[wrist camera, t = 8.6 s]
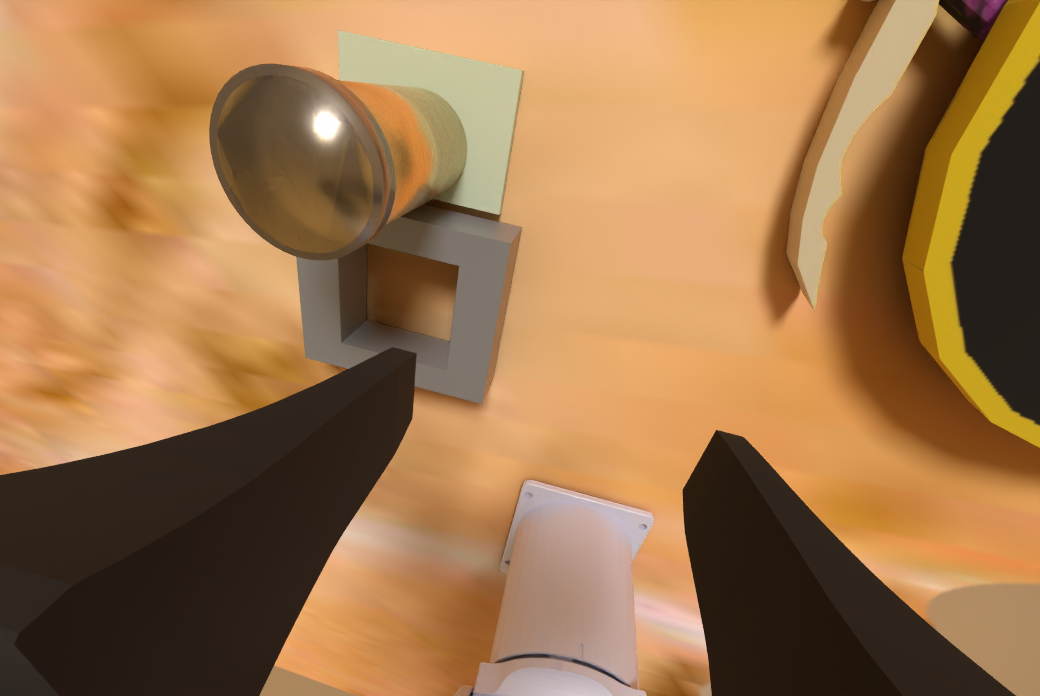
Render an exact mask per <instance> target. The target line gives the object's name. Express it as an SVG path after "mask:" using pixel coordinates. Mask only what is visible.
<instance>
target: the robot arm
mask: <svg viewBox="0 0 1040 696" xmlns="http://www.w3.org/2000/svg"><path fill="white" fill-rule="evenodd" d="M416 357H417V353H414V352H410V351H406V350H402V349H398V348H394V347H392V348H390V349H387V350H385V351H383V352H381V353H379V354H377V355H375V356H373V357H371V358H369V359H367V360H365V361H363V362H361V363H359V364H357V365H355V366H353V367H351V368H349V369H347V370H345V371H343V372H341V373H339V374H337V375H335V376H333V377H331V378H329V379H327V380H325V381H323V382H321V383H319V384H316V385H314V386H312V387H309V388H307V389H305V390H303V391H300V392H298V393H296V394H293V395H291V396H289V397H287V398H284V399H282V400H280V401H277V402H275V403H273V404H270V405H268V406H265V407H263V408H260V409H257V410H255V411H252V412H249V413H247V414H244V415H241V416H238V417H235V418H232V419H229V420H226V421H224V422H221V423H218V424H215V425H211V426H208V427H205V428H202V429H198V430H195V431H191V432H188V433H184V434H181V435H177V436H174V437H170V438H167V439H163V440H160V441H156V442H153V443H149V444H146V445H142V446H138V447H134V448H130V449H125V450H121V451H117V452H113V453H109V454H105V455H100V456H96V457H91V458H87V459H82V460H77V461H73V462H68V463H64V464H59V465H54V466H49V467H44V468H39V469H33V470H27V471H22V472H16V473H10V474H5V475H0V696H259V695H260V693H261V691H262V689H263V687H264V684H265V683H266V681H267V678H268V677H269V674H270V672H271V670H272V668H273V666H274V664H275V662H276V660H277V658H278V656H279V654H280V652H281V650H282V648H283V646H284V643H285V641H286V639H287V637H288V635H289V633H290V632H291V630H292V628H293V626H294V624H295V622H296V620H297V618H298V616H299V614H300V612H301V610H302V608H303V606H304V604H305V602H306V600H307V598H308V596H309V594H310V592H311V590H312V588H313V587H314V585H315V583H316V581H317V579H318V577H319V575H320V573H321V571H322V570H323V568H324V566H325V564H326V562H327V560H328V558H329V556H330V554H331V553H332V551H333V549H334V547H335V546H336V544H337V542H338V541H339V539H340V537H341V536H342V534H343V532H344V531H345V529H346V528H347V526H348V525H349V523H350V522H351V520H352V519H353V517H354V516H355V514H356V513H357V511H358V510H359V508H360V507H361V505H362V504H363V502H364V501H365V499H366V497H367V496H368V494H369V493H370V491H371V490H372V488H373V487H374V485H375V484H376V482H377V481H378V479H379V478H380V476H381V475H382V473H383V472H384V470H385V469H386V467H387V465H388V464H389V462H390V461H391V459H392V458H393V456H394V455H395V453H396V451H397V449H398V447H399V445H400V443H401V441H402V439H403V437H404V435H405V433H406V431H407V428H408V426H409V424H410V422H411V420H412V416H413V401H414V386H415V371H416ZM529 493H531V494H529ZM683 512H684V526H685V535H686V541H687V546H688V552H689V557H690V562H691V568H692V573H693V578H694V583H695V588H696V593H697V598H698V603H699V608H700V613H701V618H702V624H703V629H704V634H705V640H706V647H707V653H708V660H709V670H710V680H711V690H712V696H1016V695H1014V694H1013V693H1012V692H1010V691H1009V690H1008V689H1007V688H1005V687H1004V686H1003V685H1002V684H1000V683H999V682H998V681H996V679H994V678H993V677H992V676H991V675H989V674H988V673H987V672H986V671H984V670H983V669H982V668H981V667H980V666H978V665H977V664H976V663H975V662H973V661H972V660H971V659H970V658H969V657H967V656H966V655H965V654H964V653H962V652H961V651H960V650H959V649H958V648H956V647H955V646H954V645H953V644H951V643H950V642H949V641H948V640H947V639H946V638H944V637H943V636H942V635H941V634H940V633H939V632H937V631H936V630H935V629H934V628H933V627H932V626H930V625H929V624H928V623H927V622H926V621H925V620H924V619H922V618H921V617H920V616H919V615H918V614H917V613H916V612H915V611H914V610H912V609H911V608H910V607H909V606H908V605H907V604H906V603H905V602H904V601H902V600H901V599H900V598H899V597H898V596H897V595H896V594H895V593H894V592H892V591H891V590H890V589H889V588H888V587H887V586H886V585H885V584H884V583H883V582H882V581H881V580H879V579H878V578H877V577H876V576H875V575H874V574H873V573H872V572H871V571H870V570H869V569H868V568H867V567H866V566H865V565H864V564H863V563H862V562H861V561H860V560H859V559H858V558H857V557H856V556H855V555H854V554H853V553H852V552H851V551H850V550H849V549H848V548H847V547H846V546H845V545H844V544H843V543H842V542H841V541H840V540H839V539H838V538H837V537H836V536H835V535H834V534H833V533H832V532H831V531H830V530H829V529H828V528H827V527H826V526H825V525H824V523H823V522H822V521H821V520H820V519H819V518H818V517H817V516H816V515H815V514H814V513H813V512H812V511H811V510H810V509H809V507H808V506H807V505H806V504H805V503H804V502H803V501H802V500H801V499H800V498H799V497H798V495H797V494H796V493H795V492H794V491H793V490H792V489H791V488H790V487H789V485H788V484H787V483H786V482H785V481H784V480H783V479H782V478H781V477H780V475H779V474H778V473H777V472H776V471H775V470H774V469H773V468H772V467H771V465H770V464H769V463H768V462H767V461H766V460H765V459H764V458H763V457H762V456H761V455H760V453H759V452H758V451H757V450H756V449H755V448H754V447H753V446H752V445H751V444H750V443H749V442H748V441H747V440H746V439H745V438H744V437H742V436H738V435H734V434H730V433H726V432H722V431H718V430H716V432H715V433H714V435H713V437H712V439H711V441H710V442H709V444H708V446H707V448H706V449H705V451H704V453H703V455H702V457H701V458H700V460H699V462H698V464H697V465H696V467H695V469H694V471H693V473H692V474H691V476H690V478H689V480H688V481H687V483H686V485H685V487H684V489H683ZM653 524H654V517H653V514H652V513H650V512H648V511H644V510H641V509H637V508H633V507H630V506H626V505H622V504H619V503H615V502H611V501H608V500H604V499H600V498H597V497H593V496H589V495H586V494H582V493H578V492H575V491H571V490H567V489H564V488H560V487H556V486H553V485H549V484H545V483H542V482H538V481H534V480H526V481H524V483H523V485H522V489H521V492H520V496H519V499H518V503H517V507H516V510H515V514H514V517H513V521H512V524H511V528H510V532H509V535H508V539H507V542H506V546H505V550H504V553H503V557H502V560H501V564H500V568H499V569H500V572H501V573H503V574H505V575H508V576H507V580H506V585H505V590H504V595H503V599H502V604H501V609H500V614H499V618H498V623H497V628H496V633H495V637H494V642H493V647H492V652H491V656H490V661H489V663H486V662H481V663H480V665H479V670H478V674H477V678H476V683H475V687H474V686H470V685H463V686H461V687H460V688H459V689H458V690H457V692H456V693H455V694H454V695H453V696H646V692H645V691H643V690H639V681H638V662H637V644H636V626H635V608H634V590H633V572H632V562H633V560H634V558H635V556H636V554H637V553H638V551H639V549H640V547H641V545H642V543H643V542H644V540H645V538H646V536H647V534H648V533H649V531H650V529H651V527H652V525H653Z"/></svg>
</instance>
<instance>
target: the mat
mask: <svg viewBox="0 0 1040 696" xmlns="http://www.w3.org/2000/svg"><path fill="white" fill-rule="evenodd" d="M338 48H339V80H341V81H352V82H363V83H374V84H386V85H397V86H408V87H418V88H424V89H427V90H430V91H432V92H434V93H436V94H438V95H439V96H441V97H442V98H443V99H444V100H446V101H447V102H448V103H449V104H450V105H451V107H452V108H453V109H454V110H455V112H456V113H457V115H458V117H459V118H460V120H461V123H462V125H463V128H464V131H465V134H466V140H467V159H466V164H465V168H464V170H463V173H462V175H461V177H460V178H459V180H458V181H457V182H456V184H455V185H454V186H453V187H452V188H451V189H449V190H448V191H446V192H445V193H443V194H441V195H439V196H437V197H436V198H434V200H439V201H443V202H447V203H451V204H455V205H460V206H464V207H468V208H472V209H476V210H481V211H485V212H489V213H493V214H497V215H500V214H501V211H502V205H503V198H504V192H505V186H506V180H507V174H508V167H509V161H510V155H511V149H512V143H513V136H514V130H515V124H516V118H517V112H518V106H519V99H520V93H521V87H522V81H523V75H524V71H523V70H518V69H514V68H509V67H505V66H500V65H496V64H491V63H486V62H482V61H477V60H473V59H468V58H463V57H459V56H454V55H450V54H445V53H441V52H436V51H431V50H427V49H422V48H418V47H413V46H409V45H404V44H399V43H395V42H390V41H386V40H381V39H376V38H372V37H367V36H363V35H358V34H354V33H349V32H344V31H340V30H338Z"/></svg>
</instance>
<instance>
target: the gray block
mask: <svg viewBox="0 0 1040 696" xmlns="http://www.w3.org/2000/svg"><path fill="white" fill-rule="evenodd" d="M521 230H522V227H518V226H514V225H510V224H506V223H501V222H497V221H493V220H489V219H485V218H481V217H476V216H472V215H468V214H464V213H460V212H455V211H451V210H447V209H443V208H439V207H435V206H430V205H426V204H423V205H421V206H419V207H417V208H415V209H413V210H412V211H410V212H408V213H406V214H404V215H402V216H401V217H399V218H397V219H395V220H393V221H391V222H390V223H388V224H386V225H385V226H384V228H383V229H382V230H381V231H380V233H379V234H378V235H377V236H376V237H375V238H374V239H373V240H371V241H370V242H368V244H372V245H376V246H380V247H384V248H388V249H392V250H396V251H400V252H404V253H408V254H412V255H416V256H421V257H425V258H429V259H433V260H437V261H441V262H445V263H449V264H453V265H457V266H459V272H458V280H457V289H456V297H455V306H454V314H453V322H452V331H451V339H450V341H446V340H442V339H438V338H434V337H430V336H426V335H422V334H418V333H415V332H411V331H407V330H403V329H399V328H395V327H391V326H387V325H383V324H380V323H376V322H372V321H368V320H367V244H365V245H364V246H362V247H360V248H359V249H357V250H355V251H353V252H352V253H350V254H348V255H345V256H343V257H341V258H337V259H333V260H324V261H319V260H309V259H303V258H300V257H297V256H296V258H297V269H298V280H299V291H300V302H301V313H302V324H303V335H304V347H305V358H309V359H313V360H316V361H320V362H324V363H328V364H332V365H335V366H339V367H343V368H347V369H349V368H351V367H353V366H355V365H357V364H359V363H361V362H363V361H365V360H367V359H369V358H371V357H373V356H375V355H377V354H379V353H381V352H383V351H385V350H387V349H390V348H392V347H394V348H398V349H402V350H406V351H410V352H414V353H417V357H416V371H415V387H419V388H422V389H426V390H430V391H434V392H438V393H441V394H445V395H449V396H453V397H456V398H460V399H464V400H468V401H472V402H475V403H479V404H482V403H483V400H484V398H485V396H486V393H487V391H488V388H489V386H490V384H491V381H492V379H493V376H494V372H495V367H496V361H497V356H498V351H499V346H500V340H501V335H502V330H503V324H504V319H505V314H506V309H507V303H508V298H509V293H510V288H511V282H512V277H513V272H514V267H515V261H516V256H517V251H518V246H519V240H520V235H521Z"/></svg>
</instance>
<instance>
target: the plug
mask: <svg viewBox="0 0 1040 696" xmlns="http://www.w3.org/2000/svg"><path fill="white" fill-rule="evenodd" d="M209 131H210V147H211V154H212V159H213V163H214V167H215V170H216V173H217V175H218V178H219V181H220V183H221V185H222V187H223V189H224V191H225V193H226V195H227V197H228V198H229V200H230V202H231V203H232V205H233V206H234V208H235V209H236V211H237V212H238V213H239V215H240V216H241V217H242V218H243V219H244V221H245V222H246V223H247V224H248V225H249V226H250V227H251V228H252V229H253V230H254V231H255V232H256V233H257V234H259V235H260V236H261V237H262V238H263V239H265V240H266V241H267V242H269V243H270V244H272V245H273V246H275V247H277V248H278V249H280V250H282V251H284V252H286V253H289V254H291V255H293V256H297V257H300V258H303V259H309V260H319V261H324V260H333V259H337V258H341V257H343V256H345V255H348V254H350V253H352V252H353V251H355V250H357V249H359V248H360V247H362V246H364V245H365V244H367V243H368V242H370V241H371V240H373V239H374V238H375V237H376V236H377V235H378V234H379V233H380V231H381V230H382V229H383V228H384V226H385V225H386V224H388V223H390V222H391V221H393V220H395V219H397V218H399V217H401V216H402V215H404V214H406V213H408V212H410V211H412V210H413V209H415V208H417V207H419V206H421V205H423V204H425V203H426V202H428V201H430V200H432V199H434V198H436V197H437V196H439V195H441V194H443V193H445V192H446V191H448V190H449V189H451V188H452V187H453V186H454V185H455V184H456V182H457V181H458V180H459V178H460V177H461V175H462V173H463V170H464V168H465V164H466V159H467V140H466V134H465V131H464V128H463V125H462V123H461V120H460V118H459V117H458V115H457V113H456V112H455V110H454V109H453V108H452V107H451V105H450V104H449V103H448V102H447V101H446V100H444V99H443V98H442V97H441V96H439V95H438V94H436V93H434V92H432V91H430V90H427V89H424V88H418V87H408V86H397V85H386V84H374V83H363V82H352V81H341V80H336V79H334V78H332V77H331V76H328V75H326V74H324V73H322V72H320V71H316V70H313V69H309V68H304V67H296V66H288V65H280V64H260V65H256V66H251V67H249V68H246V69H244V70H242V71H240V72H239V73H237V74H236V75H234V76H233V77H232V78H231V79H230V80H229V81H228V82H227V83H226V84H225V85H224V86H223V88H222V89H221V91H220V92H219V94H218V96H217V98H216V101H215V103H214V106H213V110H212V114H211V119H210V128H209Z"/></svg>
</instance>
